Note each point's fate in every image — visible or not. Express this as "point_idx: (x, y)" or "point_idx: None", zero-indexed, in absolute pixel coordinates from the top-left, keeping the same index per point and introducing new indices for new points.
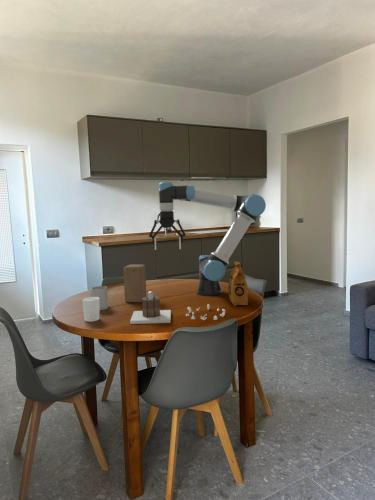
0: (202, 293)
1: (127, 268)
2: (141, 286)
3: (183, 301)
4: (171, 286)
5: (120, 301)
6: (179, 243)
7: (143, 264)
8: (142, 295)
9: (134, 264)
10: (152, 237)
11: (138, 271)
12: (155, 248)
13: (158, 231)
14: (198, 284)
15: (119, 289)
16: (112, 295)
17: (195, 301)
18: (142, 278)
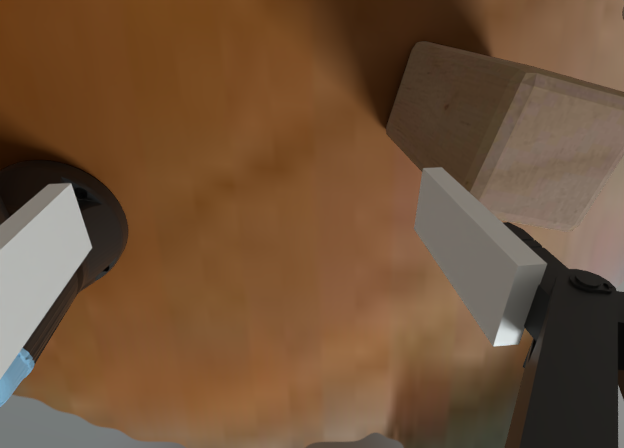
0: (83, 176)
1: (618, 91)
2: (443, 60)
3: (176, 40)
4: (270, 347)
5: None
6: (21, 228)
7: None
8: (416, 65)
9: (543, 216)
10: (597, 277)
11: (518, 63)
12: (440, 177)
13: (547, 413)
14: (101, 243)
15: None
16: None
17: (101, 29)
18: (452, 97)
